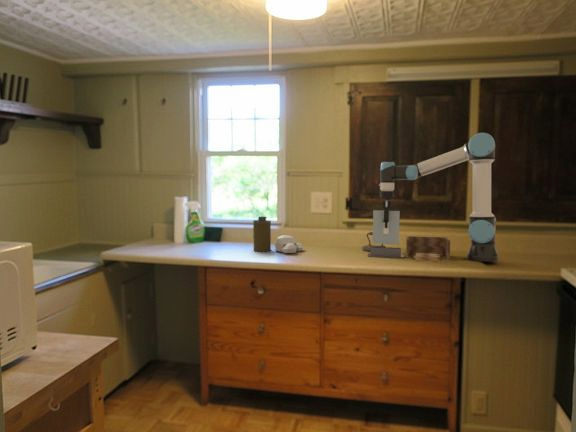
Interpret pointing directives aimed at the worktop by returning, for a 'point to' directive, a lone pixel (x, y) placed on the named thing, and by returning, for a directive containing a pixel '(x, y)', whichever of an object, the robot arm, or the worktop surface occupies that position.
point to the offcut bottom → (428, 259)
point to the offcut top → (427, 255)
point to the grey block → (386, 252)
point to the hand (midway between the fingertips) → (385, 233)
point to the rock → (287, 244)
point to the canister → (262, 234)
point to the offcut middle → (427, 258)
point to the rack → (428, 246)
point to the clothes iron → (368, 247)
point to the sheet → (379, 225)
